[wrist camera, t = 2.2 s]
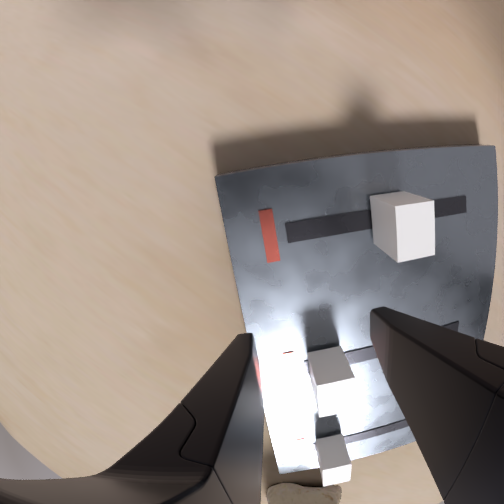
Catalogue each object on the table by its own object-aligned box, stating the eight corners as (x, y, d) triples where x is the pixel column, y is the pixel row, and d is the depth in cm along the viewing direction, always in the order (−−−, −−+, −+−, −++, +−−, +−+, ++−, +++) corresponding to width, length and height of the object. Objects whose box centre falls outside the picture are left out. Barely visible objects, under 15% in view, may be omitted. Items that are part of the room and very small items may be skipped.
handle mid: (340, 345, 21) (355, 377, 18) (342, 377, 22) (354, 409, 19) (307, 352, 21) (316, 385, 18) (310, 383, 22) (319, 417, 19)
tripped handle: (404, 190, 18) (434, 200, 15) (406, 237, 19) (434, 254, 16) (369, 195, 18) (395, 206, 15) (373, 243, 19) (397, 262, 16)
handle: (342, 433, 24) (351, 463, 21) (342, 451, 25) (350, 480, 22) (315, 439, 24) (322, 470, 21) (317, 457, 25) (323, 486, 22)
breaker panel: (479, 144, 19) (495, 145, 17) (451, 412, 28) (459, 424, 26) (217, 174, 20) (214, 176, 18) (278, 459, 28) (279, 474, 26)
